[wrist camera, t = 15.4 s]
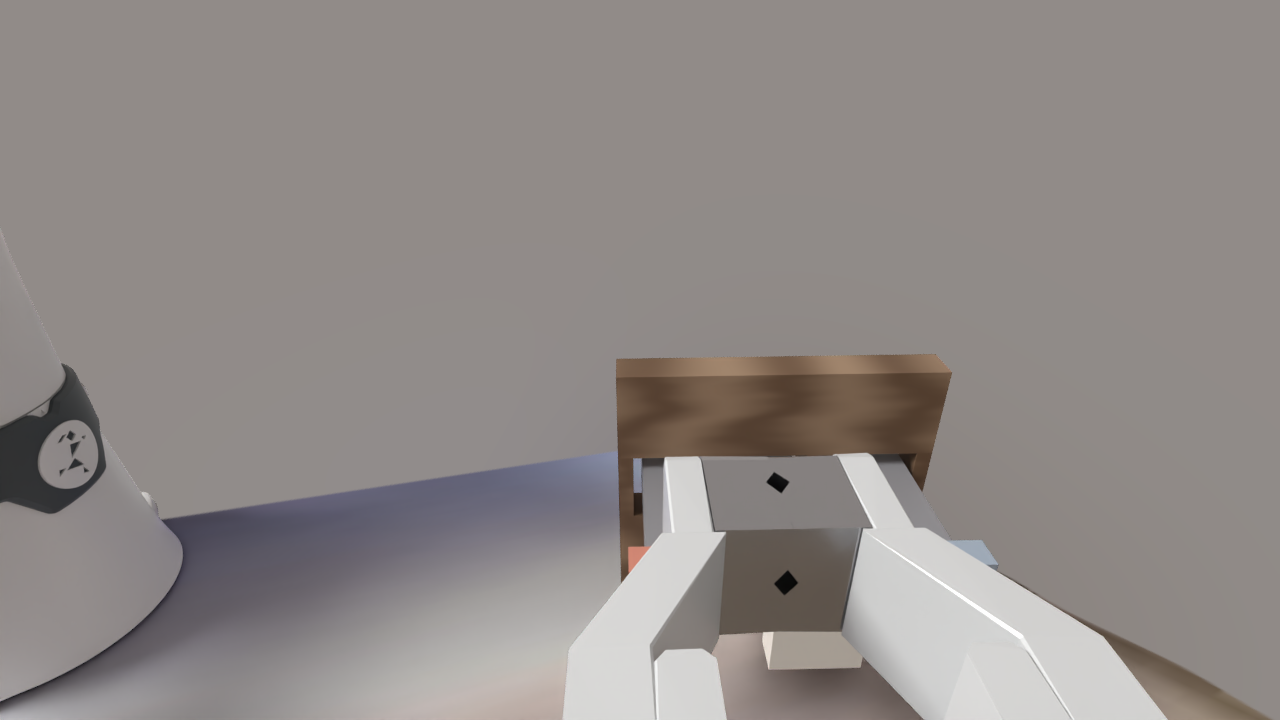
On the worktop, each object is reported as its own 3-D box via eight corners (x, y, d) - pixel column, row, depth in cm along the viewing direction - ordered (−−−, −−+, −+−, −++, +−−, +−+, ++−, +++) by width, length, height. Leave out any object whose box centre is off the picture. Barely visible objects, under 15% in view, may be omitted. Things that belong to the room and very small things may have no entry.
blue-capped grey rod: (890, 630, 30) (906, 566, 28) (818, 464, 41) (826, 411, 39) (976, 628, 30) (998, 564, 28) (882, 463, 41) (893, 410, 39)
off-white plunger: (768, 669, 28) (777, 604, 26) (727, 485, 39) (731, 430, 38) (860, 667, 28) (875, 602, 27) (794, 484, 39) (801, 429, 38)
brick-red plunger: (629, 636, 30) (628, 572, 28) (627, 468, 41) (627, 414, 39) (717, 634, 30) (721, 570, 28) (691, 467, 41) (693, 413, 39)
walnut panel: (621, 603, 40) (616, 377, 33) (621, 579, 42) (616, 359, 35) (895, 597, 41) (951, 372, 33) (884, 573, 42) (935, 354, 35)
